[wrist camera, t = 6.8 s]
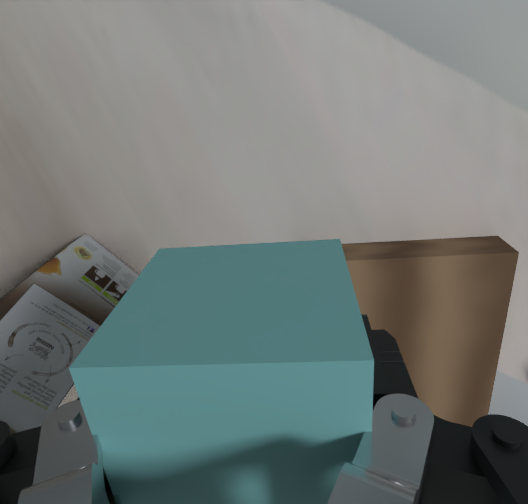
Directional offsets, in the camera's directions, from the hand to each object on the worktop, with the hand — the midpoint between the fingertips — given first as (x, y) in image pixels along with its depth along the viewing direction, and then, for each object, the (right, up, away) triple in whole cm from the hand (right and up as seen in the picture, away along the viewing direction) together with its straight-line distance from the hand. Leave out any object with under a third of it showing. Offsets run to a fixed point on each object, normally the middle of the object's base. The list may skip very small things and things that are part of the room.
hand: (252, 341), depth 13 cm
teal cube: (0, +1, +1) cm, 1 cm away
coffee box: (-15, 0, +21) cm, 26 cm away
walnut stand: (+11, -3, +21) cm, 23 cm away
